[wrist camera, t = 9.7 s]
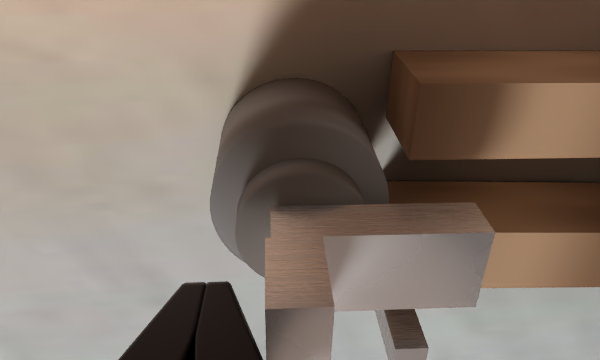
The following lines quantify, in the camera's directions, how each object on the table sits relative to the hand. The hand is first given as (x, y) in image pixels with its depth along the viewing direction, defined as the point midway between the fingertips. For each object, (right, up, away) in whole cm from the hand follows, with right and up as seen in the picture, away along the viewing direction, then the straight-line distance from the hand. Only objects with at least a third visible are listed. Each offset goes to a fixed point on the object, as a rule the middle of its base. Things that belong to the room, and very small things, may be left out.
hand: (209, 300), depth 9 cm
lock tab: (+3, +1, +4) cm, 5 cm away
